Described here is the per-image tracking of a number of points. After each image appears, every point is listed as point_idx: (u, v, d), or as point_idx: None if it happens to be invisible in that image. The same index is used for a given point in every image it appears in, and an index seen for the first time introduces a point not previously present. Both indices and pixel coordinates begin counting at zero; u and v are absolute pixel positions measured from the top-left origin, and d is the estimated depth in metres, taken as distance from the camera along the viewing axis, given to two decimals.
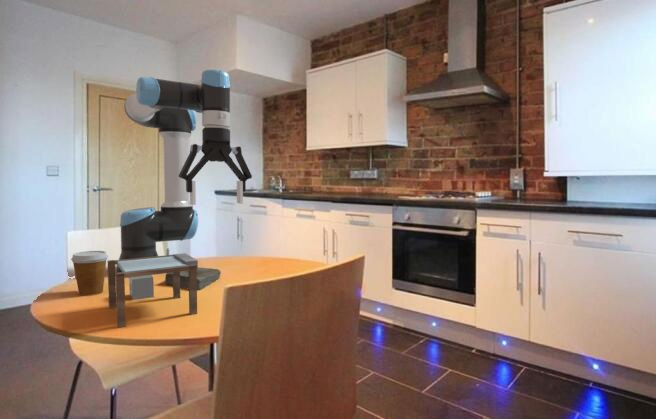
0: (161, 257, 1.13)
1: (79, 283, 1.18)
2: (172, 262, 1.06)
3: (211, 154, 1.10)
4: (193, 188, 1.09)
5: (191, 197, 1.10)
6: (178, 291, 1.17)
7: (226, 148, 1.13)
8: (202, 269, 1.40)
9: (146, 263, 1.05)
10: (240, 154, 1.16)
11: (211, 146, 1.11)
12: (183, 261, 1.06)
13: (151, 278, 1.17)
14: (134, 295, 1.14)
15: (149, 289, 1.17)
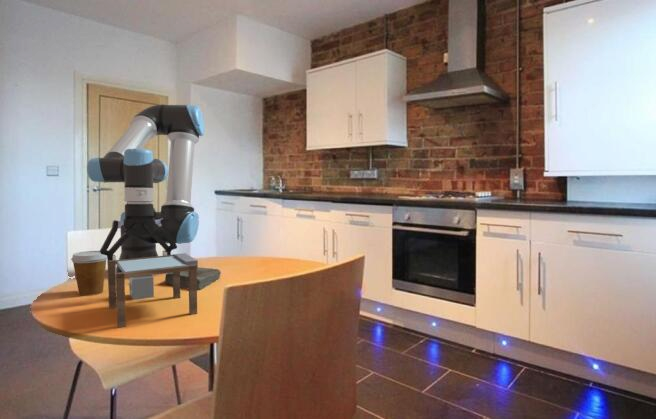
0: (161, 257, 1.13)
1: (79, 283, 1.18)
2: (172, 262, 1.06)
3: (132, 229, 1.14)
4: None
5: None
6: (178, 291, 1.17)
7: (149, 222, 1.17)
8: (202, 269, 1.40)
9: (146, 263, 1.05)
10: (164, 226, 1.19)
11: (133, 221, 1.14)
12: (183, 261, 1.06)
13: (151, 278, 1.17)
14: (134, 295, 1.14)
15: (149, 289, 1.17)
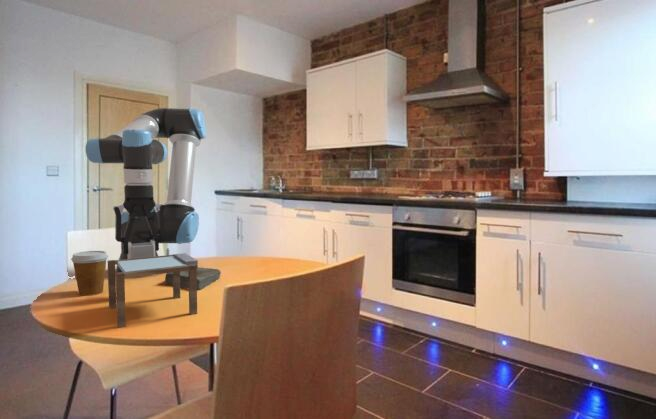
0: (161, 257, 1.13)
1: (79, 283, 1.18)
2: (172, 262, 1.06)
3: (134, 211, 1.14)
4: (129, 250, 1.15)
5: (128, 258, 1.16)
6: (178, 291, 1.17)
7: (149, 202, 1.17)
8: (202, 269, 1.40)
9: (146, 263, 1.05)
10: (161, 212, 1.19)
11: (131, 201, 1.14)
12: (183, 261, 1.06)
13: (151, 246, 1.16)
14: None
15: None
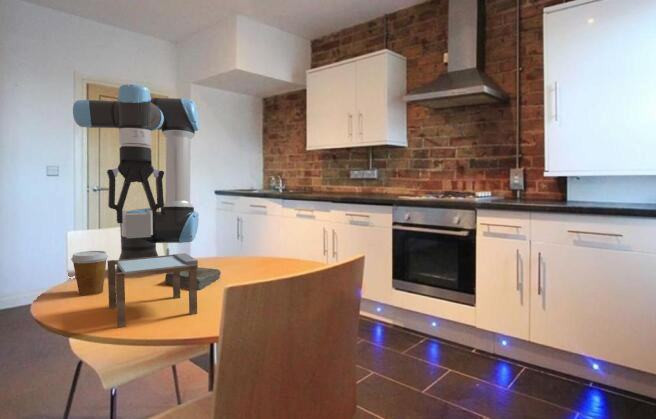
0: (161, 257, 1.13)
1: (79, 283, 1.18)
2: (172, 262, 1.06)
3: (130, 176, 1.03)
4: (123, 219, 1.03)
5: (122, 228, 1.04)
6: (178, 291, 1.17)
7: (147, 167, 1.06)
8: (202, 269, 1.40)
9: (146, 263, 1.05)
10: (160, 179, 1.07)
11: (127, 164, 1.03)
12: (183, 261, 1.06)
13: (148, 215, 1.05)
14: (129, 232, 1.02)
15: (145, 227, 1.04)
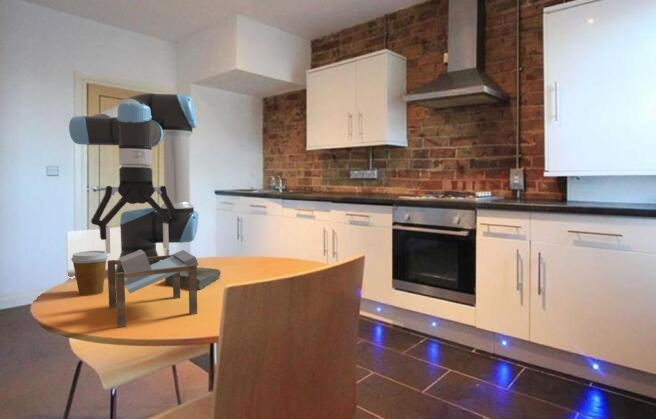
0: None
1: (79, 283, 1.18)
2: (172, 265, 1.06)
3: (128, 196, 0.99)
4: (107, 235, 0.98)
5: (106, 244, 0.99)
6: (178, 291, 1.17)
7: (147, 188, 1.02)
8: (202, 269, 1.40)
9: None
10: (165, 194, 1.05)
11: (129, 187, 1.00)
12: (182, 261, 1.06)
13: (143, 254, 1.01)
14: (130, 278, 1.00)
15: (145, 266, 1.01)
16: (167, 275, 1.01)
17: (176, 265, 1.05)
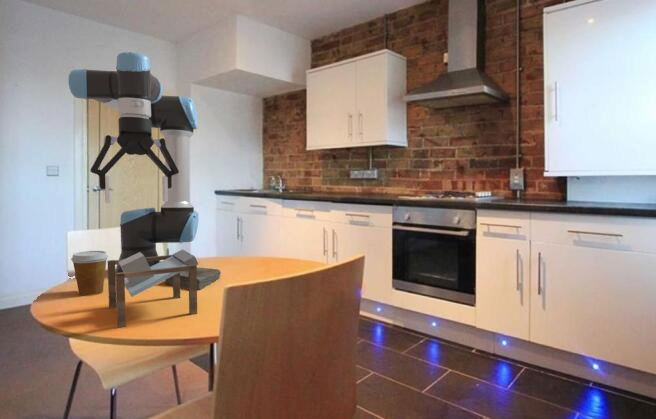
0: (161, 261, 1.13)
1: (79, 283, 1.18)
2: (172, 265, 1.06)
3: (128, 146, 0.99)
4: (106, 184, 0.98)
5: (105, 194, 0.99)
6: (178, 291, 1.17)
7: (147, 140, 1.02)
8: (202, 269, 1.40)
9: None
10: (164, 147, 1.05)
11: (128, 138, 1.00)
12: (182, 261, 1.06)
13: (142, 257, 1.01)
14: (131, 281, 1.00)
15: (145, 269, 1.01)
16: (168, 276, 1.01)
17: (176, 265, 1.05)
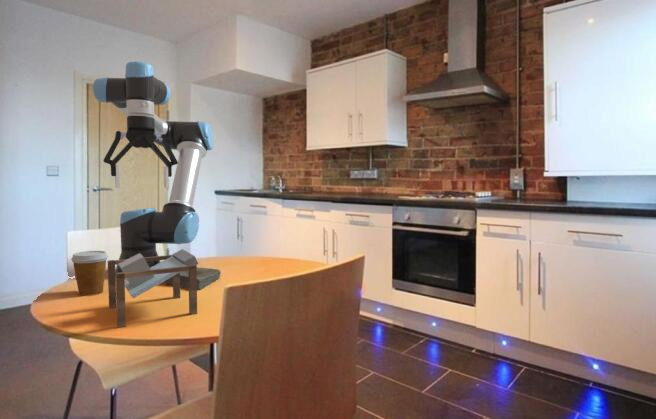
0: (161, 262, 1.13)
1: (79, 283, 1.18)
2: (172, 265, 1.06)
3: (135, 140, 1.18)
4: (117, 172, 1.16)
5: (115, 181, 1.18)
6: (178, 291, 1.17)
7: (150, 135, 1.21)
8: (202, 269, 1.40)
9: None
10: (165, 141, 1.23)
11: (135, 133, 1.19)
12: (182, 261, 1.06)
13: (142, 258, 1.01)
14: (132, 282, 1.00)
15: None
16: (168, 277, 1.01)
17: (176, 266, 1.05)
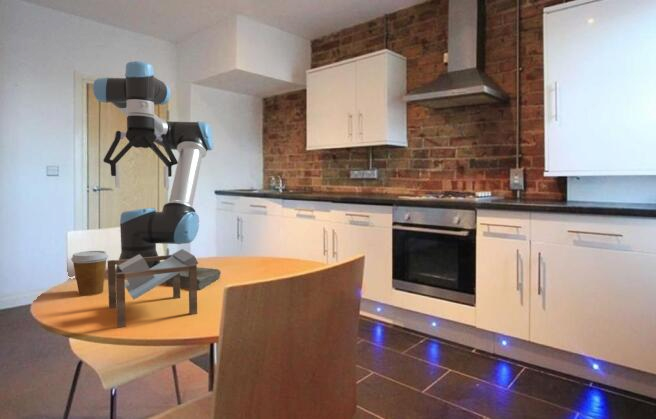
0: (161, 262, 1.13)
1: (79, 283, 1.18)
2: (172, 266, 1.06)
3: (134, 140, 1.18)
4: (117, 172, 1.17)
5: (115, 180, 1.18)
6: (178, 291, 1.17)
7: (150, 135, 1.21)
8: (202, 269, 1.40)
9: None
10: (165, 141, 1.24)
11: (135, 133, 1.19)
12: (182, 261, 1.06)
13: (141, 259, 1.01)
14: (132, 284, 1.00)
15: None
16: (168, 277, 1.01)
17: (176, 266, 1.05)
